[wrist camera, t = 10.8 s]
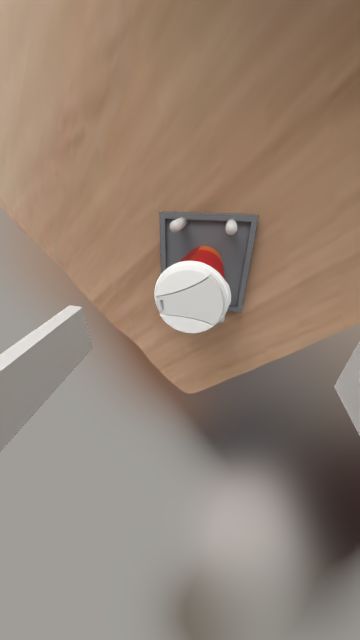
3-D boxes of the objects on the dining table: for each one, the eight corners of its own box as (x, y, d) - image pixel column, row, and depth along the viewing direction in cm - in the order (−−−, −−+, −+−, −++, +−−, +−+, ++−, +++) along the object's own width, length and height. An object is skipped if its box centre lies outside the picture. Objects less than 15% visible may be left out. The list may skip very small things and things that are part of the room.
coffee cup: (183, 290, 38) (159, 338, 25) (175, 241, 34) (142, 269, 21) (232, 286, 36) (233, 336, 23) (229, 233, 32) (228, 259, 19)
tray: (163, 211, 33) (148, 215, 27) (256, 214, 31) (263, 219, 25) (164, 299, 41) (153, 318, 35) (240, 307, 39) (242, 328, 33)
